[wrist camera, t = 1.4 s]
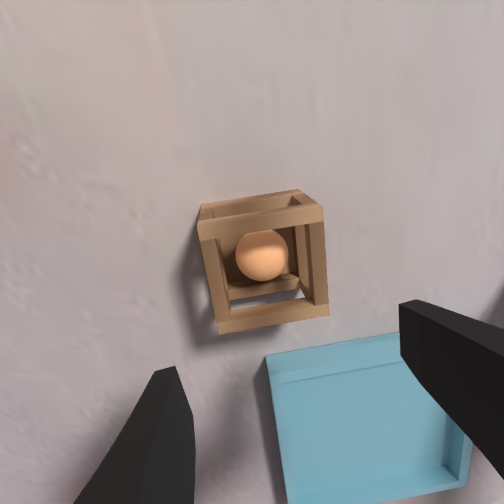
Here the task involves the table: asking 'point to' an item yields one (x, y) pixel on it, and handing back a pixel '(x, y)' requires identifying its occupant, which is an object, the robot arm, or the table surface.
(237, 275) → the wooden cage puzzle
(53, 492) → the table surface
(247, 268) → the ball
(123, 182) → the table surface
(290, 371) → the tray
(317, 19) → the table surface
